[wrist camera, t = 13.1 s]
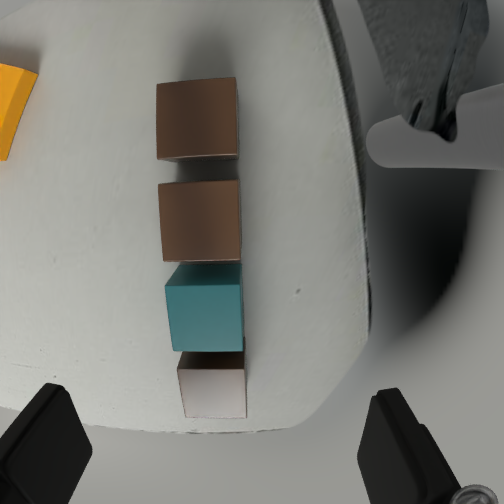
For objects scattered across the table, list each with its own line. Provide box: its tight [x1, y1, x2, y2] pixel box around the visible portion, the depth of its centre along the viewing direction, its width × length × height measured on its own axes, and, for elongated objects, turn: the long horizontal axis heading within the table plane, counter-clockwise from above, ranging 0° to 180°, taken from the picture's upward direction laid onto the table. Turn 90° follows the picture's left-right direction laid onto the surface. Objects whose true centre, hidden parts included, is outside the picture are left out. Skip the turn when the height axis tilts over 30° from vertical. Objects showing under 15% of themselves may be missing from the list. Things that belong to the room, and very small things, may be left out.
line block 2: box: [158, 179, 242, 262], centre depth 21 cm, size 5×5×5 cm
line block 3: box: [177, 337, 247, 418], centre depth 23 cm, size 5×5×5 cm
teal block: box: [165, 264, 244, 352], centre depth 22 cm, size 5×5×5 cm
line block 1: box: [156, 77, 239, 162], centre depth 19 cm, size 5×5×5 cm
